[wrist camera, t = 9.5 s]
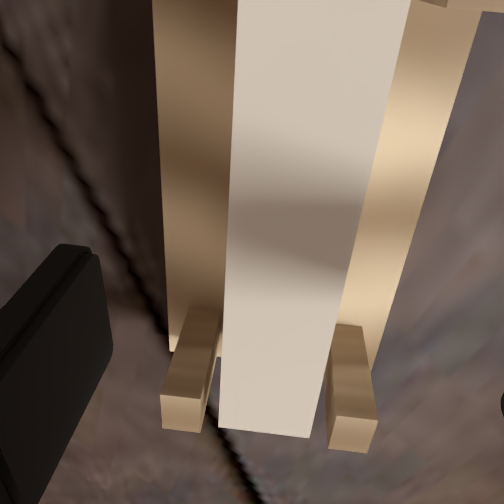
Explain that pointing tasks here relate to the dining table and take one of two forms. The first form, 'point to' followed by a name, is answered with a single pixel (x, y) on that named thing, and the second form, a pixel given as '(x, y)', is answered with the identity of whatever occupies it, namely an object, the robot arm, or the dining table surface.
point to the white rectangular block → (297, 194)
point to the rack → (217, 197)
